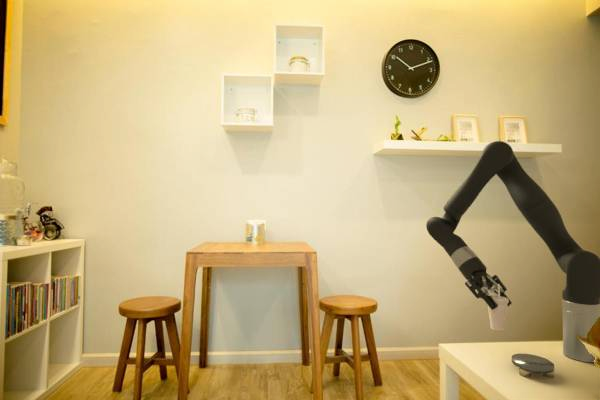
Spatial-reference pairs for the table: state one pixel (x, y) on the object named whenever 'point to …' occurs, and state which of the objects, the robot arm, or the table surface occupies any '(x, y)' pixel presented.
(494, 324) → the smoothie
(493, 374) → the table surface
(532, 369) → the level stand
